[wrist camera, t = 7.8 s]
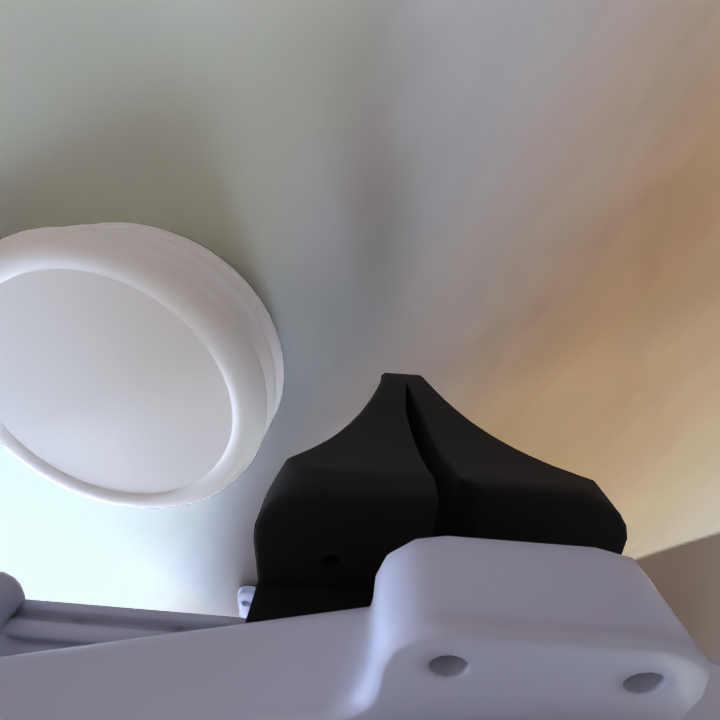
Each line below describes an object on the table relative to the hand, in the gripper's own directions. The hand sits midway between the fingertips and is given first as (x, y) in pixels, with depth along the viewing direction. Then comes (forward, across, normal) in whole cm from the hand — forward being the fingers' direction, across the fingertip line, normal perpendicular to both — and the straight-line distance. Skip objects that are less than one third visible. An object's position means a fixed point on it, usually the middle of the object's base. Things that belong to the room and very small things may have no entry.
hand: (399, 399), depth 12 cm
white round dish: (+2, +9, 0) cm, 10 cm away
